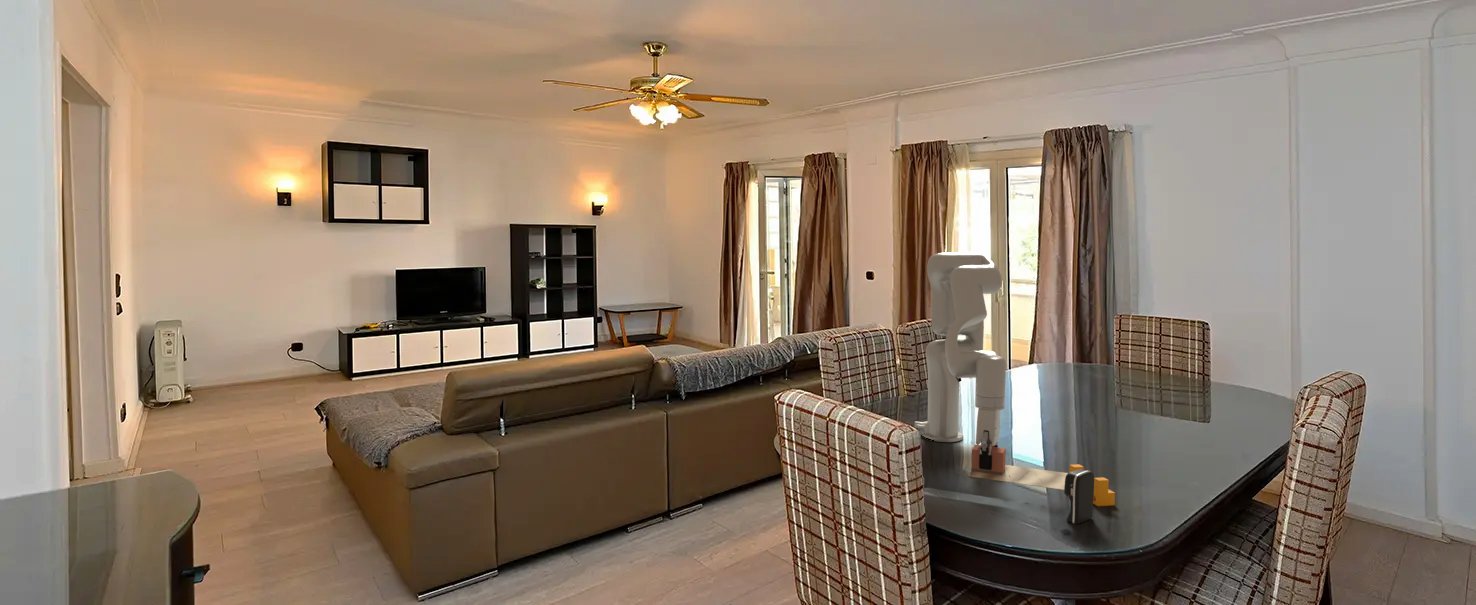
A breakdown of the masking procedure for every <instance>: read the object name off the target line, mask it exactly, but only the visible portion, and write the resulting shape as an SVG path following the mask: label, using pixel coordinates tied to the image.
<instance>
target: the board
mask: <svg viewBox="0 0 1476 605" xmlns="http://www.w3.org/2000/svg"><path fill="white" fill-rule="evenodd" d="M1068 473H1069V472H1062V471H1054V470H1047V469H1039V468H1032V467H1031V468H1030V467H1023V466H1018V465H1009V464H1005V471H1004V473H1003V475H996V474H989V473H982V472H975V471H970V473H969V474H968V475H967V476H968V477H970V478H976V479H977V478H979V479H983V480H984V479H986V480H992V481H999V482H1006V483H1014V484H1020V485H1027V486H1028V485H1029V486H1034V487H1041V488H1042V487H1043V488H1048V489H1055V490H1062V491H1064V486H1065V477H1066V475H1067V474H1068ZM1065 496H1066V497H1068V495H1066V494H1065Z"/></svg>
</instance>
